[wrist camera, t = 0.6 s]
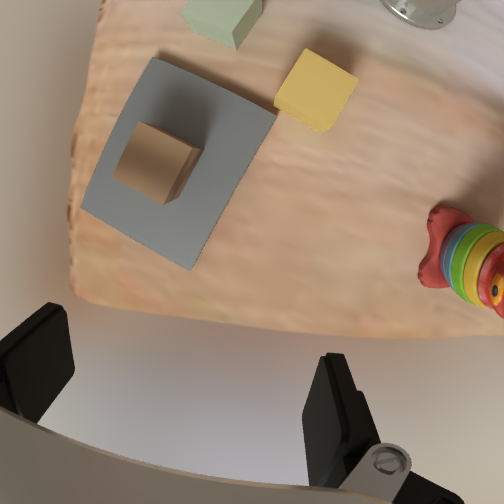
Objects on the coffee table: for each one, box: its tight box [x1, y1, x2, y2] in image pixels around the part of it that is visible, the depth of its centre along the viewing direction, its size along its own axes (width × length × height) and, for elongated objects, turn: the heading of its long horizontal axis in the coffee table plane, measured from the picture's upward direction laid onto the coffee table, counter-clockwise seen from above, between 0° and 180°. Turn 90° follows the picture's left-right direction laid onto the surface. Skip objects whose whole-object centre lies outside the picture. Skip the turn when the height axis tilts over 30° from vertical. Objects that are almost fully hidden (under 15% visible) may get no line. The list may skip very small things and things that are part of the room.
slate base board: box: [80, 57, 277, 271], centre depth 35 cm, size 20×16×2 cm
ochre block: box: [273, 48, 359, 133], centre depth 30 cm, size 6×6×6 cm
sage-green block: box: [181, 0, 262, 51], centre depth 28 cm, size 6×6×6 cm
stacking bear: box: [418, 206, 504, 319], centre depth 29 cm, size 11×10×18 cm
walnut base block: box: [112, 121, 204, 205], centre depth 31 cm, size 6×6×6 cm
